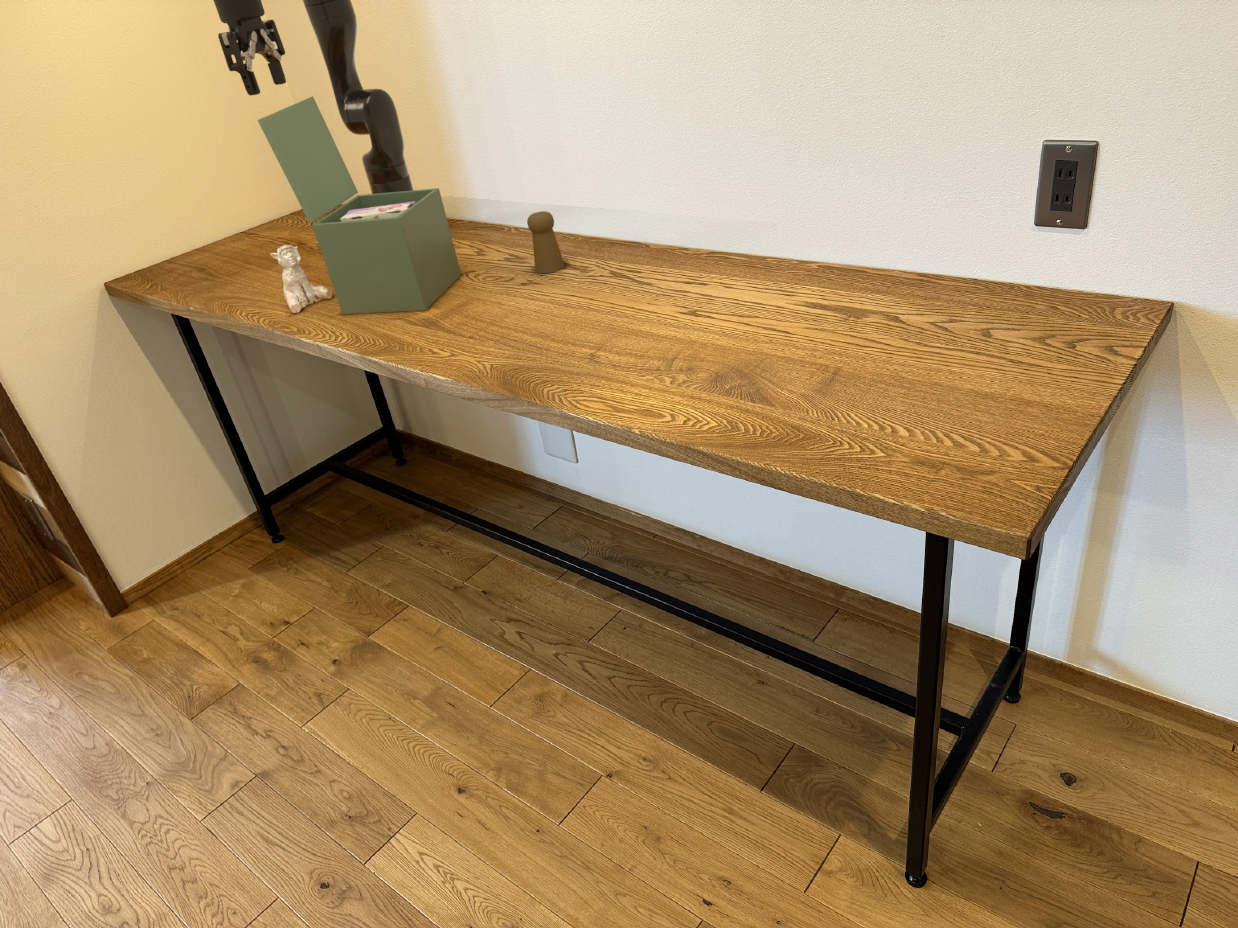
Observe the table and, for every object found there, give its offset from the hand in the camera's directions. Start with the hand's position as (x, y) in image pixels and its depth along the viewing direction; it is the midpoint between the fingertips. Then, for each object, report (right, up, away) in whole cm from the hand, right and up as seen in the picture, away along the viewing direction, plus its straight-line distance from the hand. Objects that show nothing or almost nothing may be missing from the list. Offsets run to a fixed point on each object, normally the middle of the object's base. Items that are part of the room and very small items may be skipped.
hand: (267, 89), depth 161 cm
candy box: (+20, -33, +17) cm, 42 cm away
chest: (+20, -34, +17) cm, 43 cm away
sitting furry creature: (-1, -35, +22) cm, 41 cm away
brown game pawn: (+50, -29, +17) cm, 60 cm away
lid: (+6, -11, +5) cm, 13 cm away
